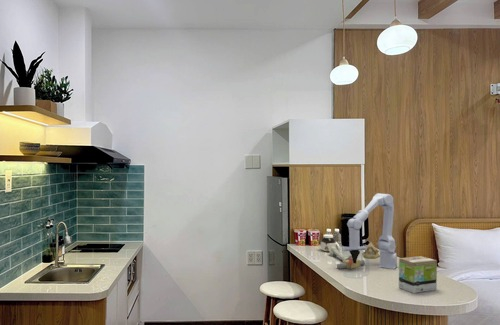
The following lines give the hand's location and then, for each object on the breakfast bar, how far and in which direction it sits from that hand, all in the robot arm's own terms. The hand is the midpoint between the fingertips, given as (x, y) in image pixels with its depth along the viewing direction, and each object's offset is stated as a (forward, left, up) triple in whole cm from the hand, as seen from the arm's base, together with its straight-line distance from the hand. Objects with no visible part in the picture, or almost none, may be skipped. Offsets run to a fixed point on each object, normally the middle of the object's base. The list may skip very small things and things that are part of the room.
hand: (354, 263), depth 215 cm
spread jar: (+28, -41, -4) cm, 50 cm away
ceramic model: (0, -41, -5) cm, 41 cm away
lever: (+2, -1, 0) cm, 3 cm away
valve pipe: (+4, -6, -4) cm, 8 cm away
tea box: (-35, +18, -4) cm, 40 cm away
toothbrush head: (+16, -22, -5) cm, 27 cm away
